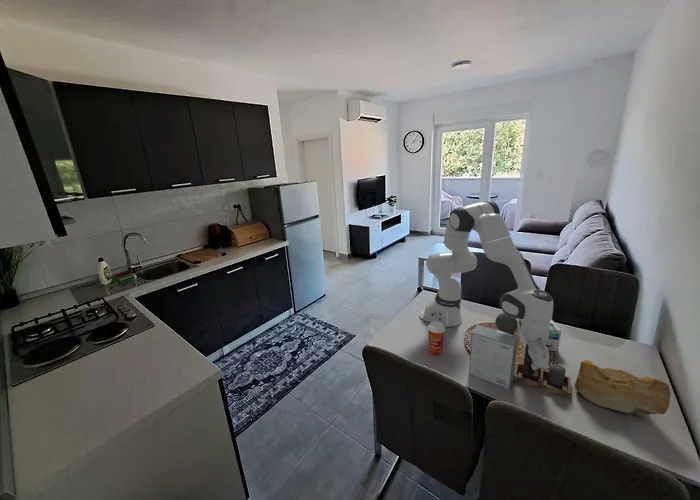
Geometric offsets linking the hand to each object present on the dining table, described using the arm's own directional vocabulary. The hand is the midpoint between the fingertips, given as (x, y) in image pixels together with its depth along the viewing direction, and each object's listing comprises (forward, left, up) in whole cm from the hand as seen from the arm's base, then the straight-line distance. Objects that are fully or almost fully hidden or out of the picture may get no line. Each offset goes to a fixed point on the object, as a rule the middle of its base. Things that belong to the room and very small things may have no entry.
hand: (530, 362), depth 115 cm
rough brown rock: (+27, +3, -8) cm, 28 cm away
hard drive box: (-13, -6, -8) cm, 16 cm away
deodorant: (+1, 0, -8) cm, 7 cm away
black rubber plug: (+9, 0, -7) cm, 11 cm away
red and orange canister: (-37, -2, -8) cm, 38 cm away
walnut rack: (+4, 0, -8) cm, 9 cm away
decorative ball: (-12, +31, -8) cm, 34 cm away
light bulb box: (+5, +29, -8) cm, 31 cm away
